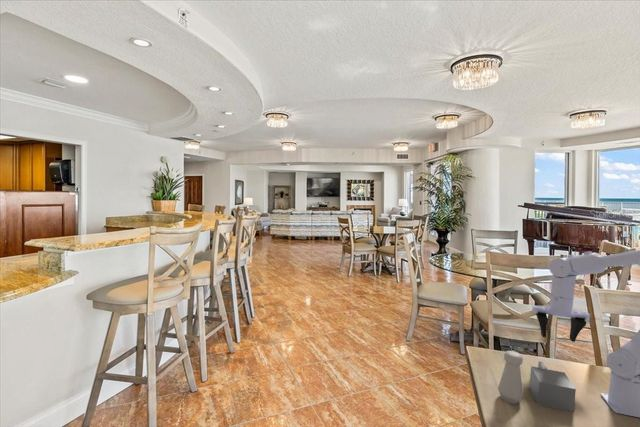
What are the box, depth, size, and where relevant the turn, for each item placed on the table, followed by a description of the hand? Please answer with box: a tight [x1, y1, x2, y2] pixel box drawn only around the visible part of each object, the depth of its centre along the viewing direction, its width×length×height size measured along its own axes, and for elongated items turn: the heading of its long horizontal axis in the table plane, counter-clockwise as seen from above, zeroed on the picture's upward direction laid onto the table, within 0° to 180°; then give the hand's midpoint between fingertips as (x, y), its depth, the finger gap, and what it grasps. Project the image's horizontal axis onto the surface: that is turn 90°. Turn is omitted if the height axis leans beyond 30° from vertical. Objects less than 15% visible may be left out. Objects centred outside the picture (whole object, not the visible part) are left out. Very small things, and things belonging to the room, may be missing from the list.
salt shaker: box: [497, 350, 524, 405], centre depth 88 cm, size 6×6×13 cm
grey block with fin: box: [528, 360, 577, 413], centre depth 92 cm, size 14×8×6 cm, turn 160°
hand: (557, 338), depth 103 cm, fingers open, 7 cm apart
